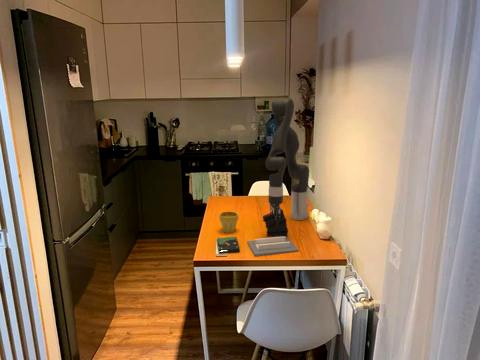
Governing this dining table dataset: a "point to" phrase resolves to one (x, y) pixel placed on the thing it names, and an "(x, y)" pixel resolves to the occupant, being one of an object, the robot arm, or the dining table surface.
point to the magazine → (270, 225)
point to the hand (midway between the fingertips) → (275, 224)
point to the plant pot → (228, 221)
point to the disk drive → (228, 245)
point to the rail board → (272, 246)
